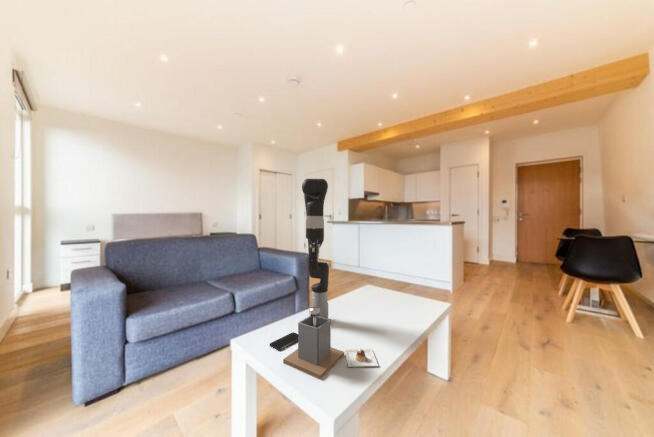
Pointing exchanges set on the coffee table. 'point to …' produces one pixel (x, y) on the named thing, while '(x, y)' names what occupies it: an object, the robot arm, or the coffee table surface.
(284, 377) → the coffee table surface
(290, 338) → the phone
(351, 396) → the coffee table surface
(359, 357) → the dessert
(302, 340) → the grey square holder
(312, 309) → the plunger
